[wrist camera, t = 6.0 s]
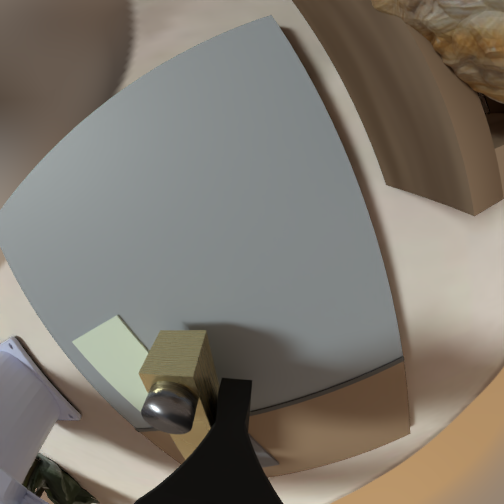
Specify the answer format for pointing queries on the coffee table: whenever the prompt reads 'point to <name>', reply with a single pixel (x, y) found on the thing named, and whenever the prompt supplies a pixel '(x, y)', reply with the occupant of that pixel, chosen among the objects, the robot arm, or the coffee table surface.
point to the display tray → (413, 106)
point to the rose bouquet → (55, 483)
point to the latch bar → (180, 387)
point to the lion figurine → (460, 37)
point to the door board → (219, 250)
